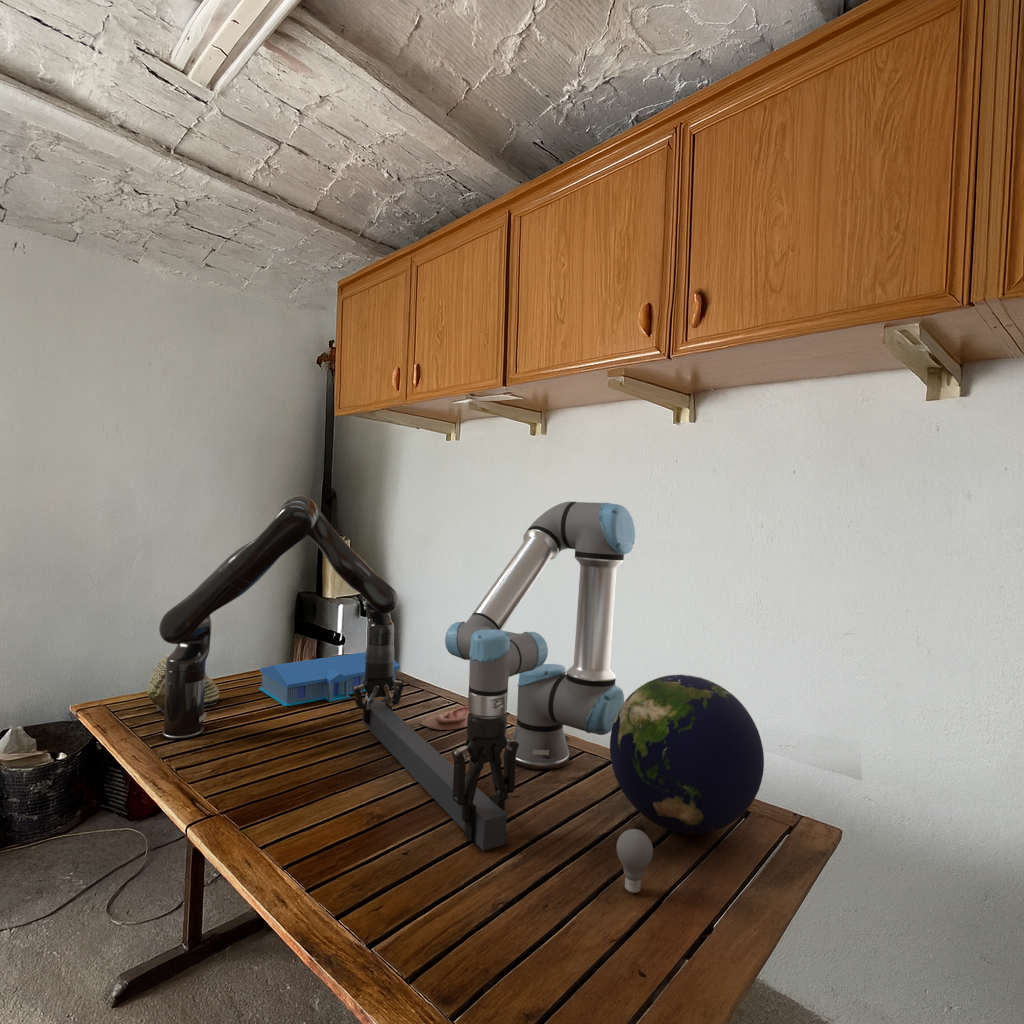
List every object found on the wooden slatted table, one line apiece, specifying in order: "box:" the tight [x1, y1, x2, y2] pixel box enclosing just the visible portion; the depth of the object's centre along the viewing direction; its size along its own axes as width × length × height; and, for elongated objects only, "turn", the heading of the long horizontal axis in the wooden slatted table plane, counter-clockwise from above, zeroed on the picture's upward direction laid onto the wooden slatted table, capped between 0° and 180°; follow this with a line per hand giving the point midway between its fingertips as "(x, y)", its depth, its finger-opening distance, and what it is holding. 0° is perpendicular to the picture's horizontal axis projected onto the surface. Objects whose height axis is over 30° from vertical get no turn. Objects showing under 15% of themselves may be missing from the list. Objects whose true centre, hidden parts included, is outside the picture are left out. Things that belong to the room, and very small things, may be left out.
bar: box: [361, 699, 508, 852], centre depth 146 cm, size 69×5×6 cm, turn 32°
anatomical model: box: [420, 705, 469, 731], centre depth 180 cm, size 13×4×12 cm
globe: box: [609, 673, 765, 835], centre depth 128 cm, size 30×30×30 cm
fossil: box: [147, 654, 221, 712], centre depth 185 cm, size 9×18×15 cm, turn 132°
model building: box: [258, 651, 401, 707], centre depth 208 cm, size 39×24×10 cm, turn 132°
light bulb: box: [615, 828, 654, 894], centre depth 106 cm, size 6×6×10 cm
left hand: (377, 721), depth 171 cm, fingers closed on bar, 5 cm apart
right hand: (482, 833), depth 121 cm, fingers closed on bar, 5 cm apart
